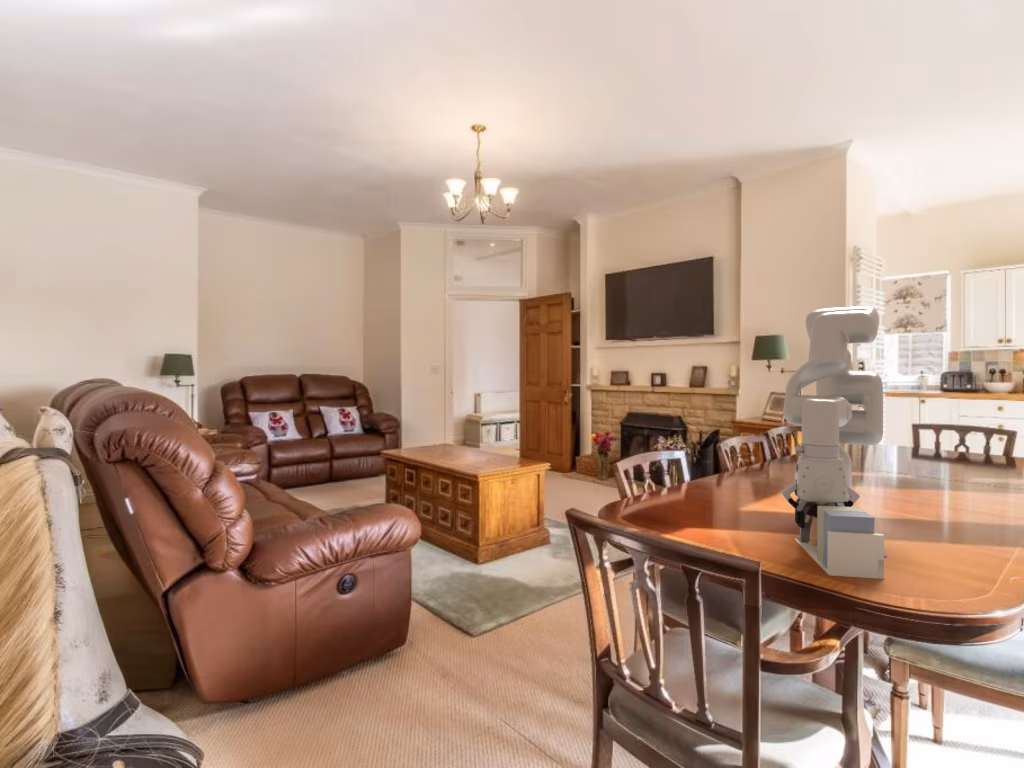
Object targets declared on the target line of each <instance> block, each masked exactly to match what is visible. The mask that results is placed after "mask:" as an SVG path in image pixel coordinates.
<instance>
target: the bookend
mask: <svg viewBox="0 0 1024 768" xmlns="http://www.w3.org/2000/svg"><path fill="white" fill-rule="evenodd" d="M814 504H816V503H815V502H807V503H806V504H805V506H804V507H803V511H804V512H805V515H806V513H807V512H808V510H809V509H810V508H811V506H812V505H814ZM824 505H827V506H835V504H834V503H825V504H824ZM811 523H812V516H811V517H810V519H809V521H808V522H807V523H806V522H805V527H804V528H800V527H799V535H797V538H796V539H799V540H800V541H801V542H809V541H810V528H811Z"/></svg>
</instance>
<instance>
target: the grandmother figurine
mask: <svg viewBox="0 0 1024 768" xmlns="http://www.w3.org/2000/svg"><path fill="white" fill-rule="evenodd" d="M815 503H816V504H814V505H812V506H811V508H810V509H809V510H808V512H807V513H806V515H805V522H806V523H807V522H808V521H809V519H810V517H811V516H812V523H811V528H810V541H809V542H808V543H809V544H810V545H813V546H817V506H827V505H824V504H825V503H820V502H815Z"/></svg>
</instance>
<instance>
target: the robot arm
mask: <svg viewBox="0 0 1024 768" xmlns="http://www.w3.org/2000/svg"><path fill="white" fill-rule="evenodd" d="M879 317H880V316H879V313H878V311H877V309H876V308H875V307H874V306H870V305H866V306H865V305H864V306H850V307H849V306H847V307H829V308H828V307H827V308H821V309H816V310H812V311H811V312H809V313H808V314H807V315H806V317H805V328H806V333H807V335H808V338H809V340H810V341H809V351H808V360H807V361H806V362H805V363H803V364H802V365H801V366H800V367H799V368H798V369H796V370H795V371H794V373H793V374H792V375H791V376H790V378H789V379H788V382H787V383H786V387H785V394H784V401H783V416H784V419H785V420H786V422H787V423H788V424H790V425H793V426H801V443H800V445H798V446H795V447H794V452H795V453H799V454H800V455H799V456H798V458H797V462H796V467H795V473H794V482H793V483H791V484H790V485H788V486H787V487H786V488H784V489H782V490H781V491H780V494H781V495H782V497H783V498H784V499H785V500H786V501H787V502H788V503H789V504H790V505H791V506H792V507H793V508H794V522H795V524H796V525H797V526H798V528H799V529H800V528H804V527H805V512H804V511H803V507H804V506H805V504H806V503H807V502H820V503H834V504H835V506H840V507H854V504H855V503H856V502H857V501H858V500H859V499H860V497H861V496H860V494H859V493H858V492H856V491H854V490H853V489H852V480H853V479H852V467H853V466H852V464H853V463H852V458H851V456H850V455H849V453H848V452H847V450H846V449H844V447H843V446H842V445H858V446H859V445H861V446H874V445H879V444H880V442H881V441H882V440H883V436H884V384H883V381H882V378H881V376H880V375H879V373H877V372H874V371H866V370H863V371H861V370H860V371H858V370H856V371H855V370H852V353H851V352H850V350H849V349H848V344H849V345H850V344H869V343H873V342H874V341H875V339H876V338H877V335H878V331H879V326H880V325H879V324H880V318H879ZM815 382H816V384H815V389H816V395H813V394H812V395H811V394H807V395H805V394H800V392H801V391H802V390H803V389H804V388H805V387H806V386H808V385H810V384H814V383H815ZM852 406H860V407H862V408H863V409H853V408H852ZM792 493H794V495H795V496H796V497H797V498H796V500H795V499H793V497H792V496H791V494H792Z"/></svg>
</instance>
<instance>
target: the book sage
mask: <svg viewBox="0 0 1024 768" xmlns="http://www.w3.org/2000/svg"><path fill="white" fill-rule="evenodd" d="M824 511H843V512H866V511H865V510H863V509H861V508H860V507H858V506H852V507H840V506H817V560H818V561H819V562H820V563H821V564H822V565H823V566H824Z"/></svg>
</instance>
